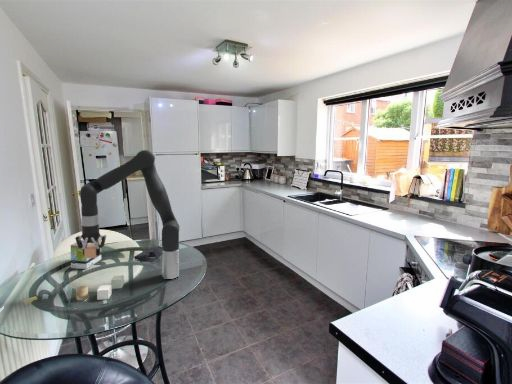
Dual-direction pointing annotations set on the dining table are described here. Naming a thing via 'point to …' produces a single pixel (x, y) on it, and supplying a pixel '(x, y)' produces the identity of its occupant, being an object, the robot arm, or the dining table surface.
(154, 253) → the dark slate chunk
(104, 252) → the dining table surface
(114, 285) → the sage block
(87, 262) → the tea box
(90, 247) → the terracotta block
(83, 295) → the maple cylinder
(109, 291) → the cream block
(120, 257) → the dining table surface
